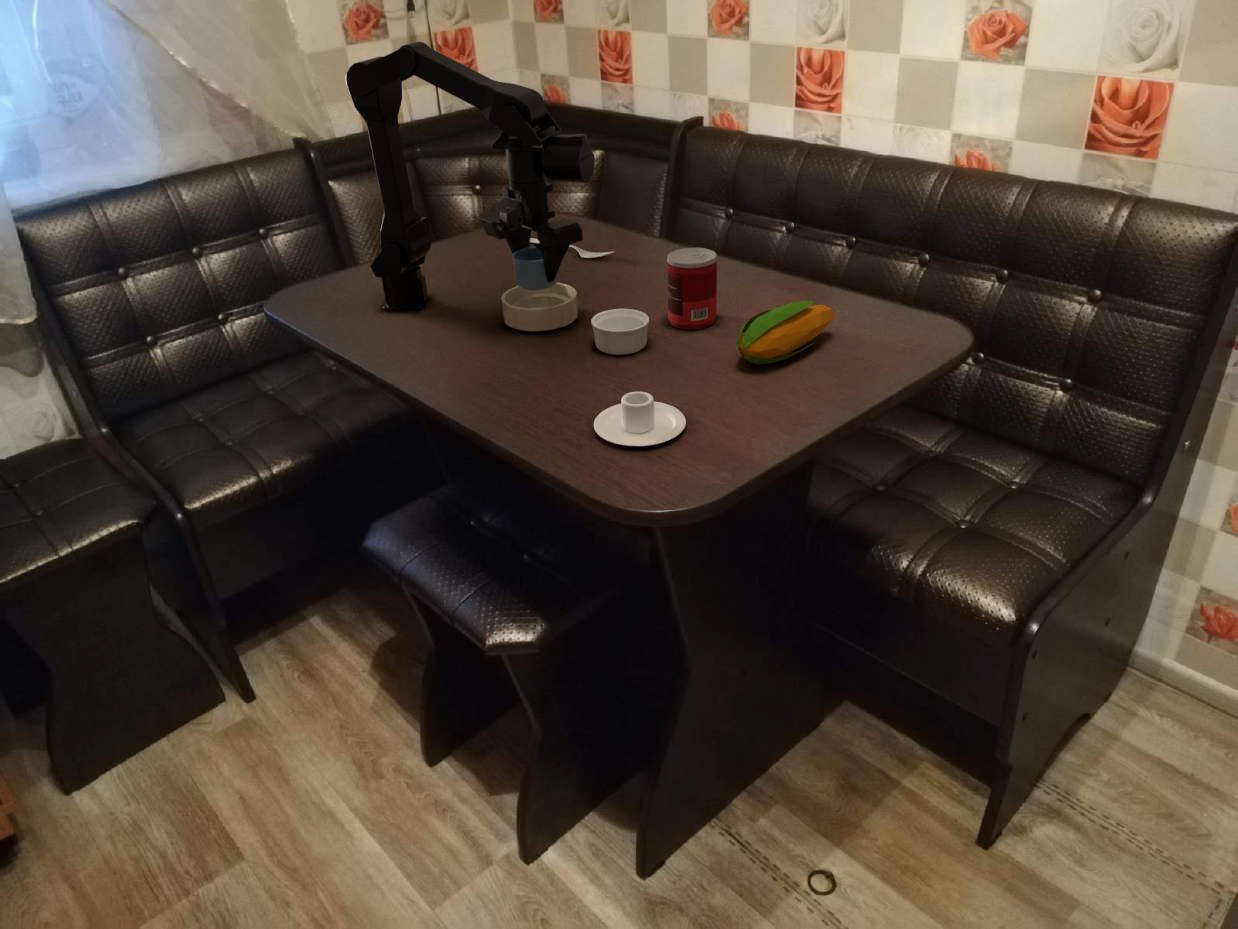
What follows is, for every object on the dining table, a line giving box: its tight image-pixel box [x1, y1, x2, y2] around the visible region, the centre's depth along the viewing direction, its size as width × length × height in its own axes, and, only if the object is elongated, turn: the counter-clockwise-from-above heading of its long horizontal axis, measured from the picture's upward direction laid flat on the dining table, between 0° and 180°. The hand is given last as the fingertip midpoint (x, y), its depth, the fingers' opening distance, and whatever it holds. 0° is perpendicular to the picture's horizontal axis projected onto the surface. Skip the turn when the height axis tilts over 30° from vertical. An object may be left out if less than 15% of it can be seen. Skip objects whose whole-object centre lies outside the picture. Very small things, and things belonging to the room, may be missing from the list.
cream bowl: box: [500, 282, 579, 332], centre depth 152 cm, size 12×12×4 cm
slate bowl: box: [511, 246, 560, 290], centre depth 149 cm, size 7×7×5 cm
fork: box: [530, 237, 616, 259], centre depth 182 cm, size 3×24×2 cm, turn 48°
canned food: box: [666, 247, 718, 331], centre depth 147 cm, size 8×8×11 cm
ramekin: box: [590, 308, 650, 356], centre depth 142 cm, size 9×9×4 cm
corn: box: [736, 300, 835, 366], centre depth 136 cm, size 7×8×20 cm
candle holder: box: [593, 391, 687, 447], centre depth 119 cm, size 12×12×4 cm
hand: (536, 276), depth 149 cm, fingers closed on slate bowl, 7 cm apart
